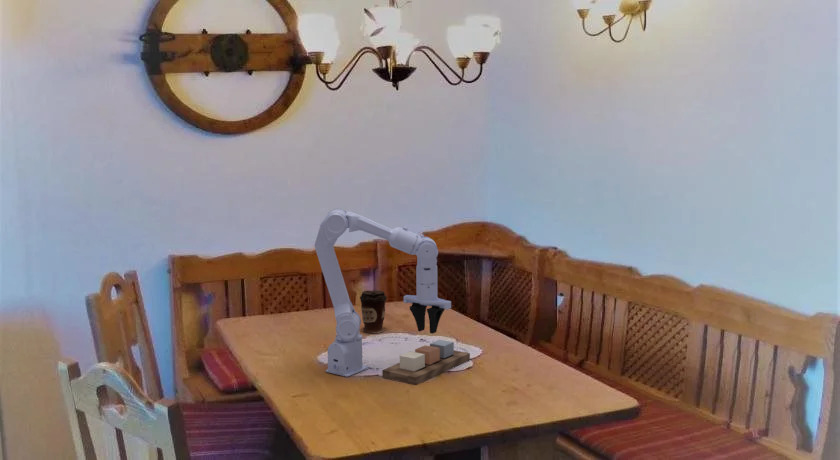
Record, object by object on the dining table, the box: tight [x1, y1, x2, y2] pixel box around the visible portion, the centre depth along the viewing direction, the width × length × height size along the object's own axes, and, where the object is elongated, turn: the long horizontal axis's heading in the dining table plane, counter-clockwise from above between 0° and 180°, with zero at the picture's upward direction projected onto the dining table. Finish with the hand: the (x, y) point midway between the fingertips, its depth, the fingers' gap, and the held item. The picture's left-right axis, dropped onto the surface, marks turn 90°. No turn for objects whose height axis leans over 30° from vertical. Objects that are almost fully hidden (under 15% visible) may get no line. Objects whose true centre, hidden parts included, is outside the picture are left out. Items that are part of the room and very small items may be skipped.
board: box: [381, 350, 471, 386], centre depth 220 cm, size 26×11×2 cm, turn 144°
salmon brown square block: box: [414, 344, 440, 365], centre depth 219 cm, size 5×5×4 cm
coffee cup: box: [359, 289, 388, 334], centre depth 258 cm, size 9×8×13 cm
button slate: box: [429, 339, 455, 358], centre depth 225 cm, size 5×5×4 cm
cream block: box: [399, 350, 425, 371], centre depth 214 cm, size 5×5×4 cm
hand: (427, 331), depth 218 cm, fingers open, 3 cm apart
